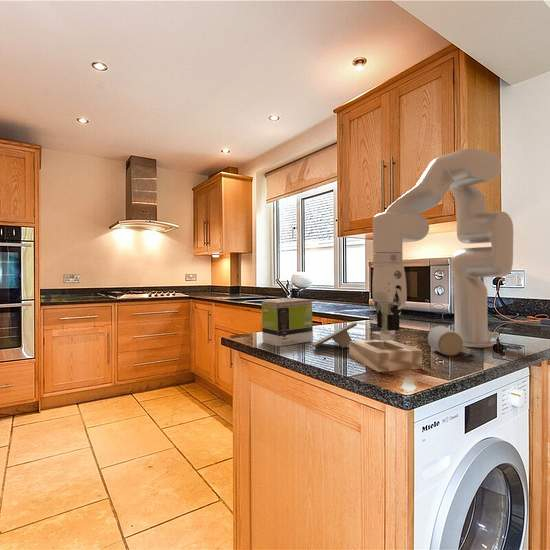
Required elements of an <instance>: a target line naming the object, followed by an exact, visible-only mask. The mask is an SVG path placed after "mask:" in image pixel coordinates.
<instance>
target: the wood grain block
mask: <svg viewBox="0 0 550 550" xmlns="http://www.w3.org/2000/svg"><path fill="white" fill-rule="evenodd" d="M393 302H394V301H393ZM393 307H394V305H392V308H393ZM387 315H389V311H388V304H387V303H384V302H381V328H380V331H371V339H372V340H379V341H386V340H392V341H395V340H396V330H391V331H389V330H388V329H387Z"/></svg>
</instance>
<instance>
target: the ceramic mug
mask: <svg viewBox="0 0 550 550" xmlns="http://www.w3.org/2000/svg"><path fill="white" fill-rule="evenodd" d="M427 342H428V345H429V347H430V348H431V349H433V350H434V351H436V352H438V353H440V354H441V355H444V356H448V357H453V356H456V355H458V354H460V353H463V354H466V355H470V353H471V351H472V350H471V349H470V348H469V347H465V346H463V341H462V338H461V337H460V336H459V335H458V334H457V333H456V332H455V330H454V331H453V330H452V329H451V328H449V327H447V326H444V325H437V326H436V325H435V326H434V327H432V328H431V330H429V333H428V335H427Z"/></svg>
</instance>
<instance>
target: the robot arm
mask: <svg viewBox="0 0 550 550" xmlns="http://www.w3.org/2000/svg"><path fill="white" fill-rule="evenodd" d="M501 170H502V161H501V159H500V157H499V156H498V155H497V154H496V153H494V152H493V151H487V150H482V149H476V148H464V149H463V148H462V149H459V150H455V151H452V152H449V153H446V154H443V155H439V156H437V157H435V158H434V159H433V160H431V162H430V163H429V164H428V166H427V167H426V169H425V171H424V172H423V174H422V175H421V177H420V178H419V180H418V181H417V182H416V184H415V186H414V187H412V188H411V189H409V190H408V191H407V192H405V193H404V194H403V195H402V196H401V197H398V198H397V199H396V200H395V201H394V202H392V203H391V204H390V205H389V206H388V207H387V209H385V211H384V212H381V213H377V214H376V215H374V216H373V218H372V266H373V270H372V272H373V273H372V285H371V287H372V288H371V290H372V293H371V294H372V302H373V303H374V306H375V313H376V326H377V328H379V329H381V302H384V303H387V304H388V311H389V315H387V329H388V330H389V331H391V330H395V331H399V330H400V315H401V314H402V312H401V311H402V310H403V308H404V306H405V305H406V303H407V297H408V295H407V292H408V290H407V277H406V272H405V266H404V262H403V259H404V258H403V254H404V253H403V243H412V242H419V241H421V240H423V239H425V238H426V236H427V235H428V234H429V231H430V223H429V221H428V219H427V218H426V217H425V216H423V215H421V213H425V212H426V211H429V210H430V209H432V208H434V207H436V206H437V205H439V204H440V203H441V202H442V200H443V198H444V196H445V195H446V193H447V191H448V190H449V191H450V193H452V195H453V197H454V199H455V202H456V237H457V240H458V241H459V242H460V243H462V244H468V245H471V244H472V245H473V244H487V243H491V246H481V247H478V246H476V247H466V248H460V249H458V250H456V251H455V252H454V253H453V254H452V256H451V259H450V266H451V271H452V275H453V276H452V277H453V281H454V282H453V285H454V288H453V289H454V332H456V333H457V334H458V335H459V336H460V337H461V338H462V341H463V346H464V347H466V348H477V349H478V348H481V349H482V348H491V347H493V346H494V342H493V341H492V340H491V339H499V338H500V332H499V331H492V332H491V330H489V329H488V324H489V323H488V289H487V287H486V285H485V283H484V281H482V279H481V278H503V277H506V276H508V275H509V274H510V273H511V271H512V269H513V264H514V223H513V220H512V218H511V215H509V213H507V212H505V211H501V210H497V211H495V210H494V211H489V212H487V198H486V196H485V194H484V193H483V192H482V190H481V189H479V187H478V186H476V185H478V184H483V183H488V182H492V181H494V180H496V179H497V178H498V177H499V176H500V173H501ZM393 301H394V302H393ZM392 305H394V307H393V308H392Z"/></svg>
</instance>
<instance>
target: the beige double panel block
mask: <svg viewBox="0 0 550 550" xmlns="http://www.w3.org/2000/svg"><path fill="white" fill-rule="evenodd" d="M357 323H358V322H357V321H355V322H354V321H353V322H350V323H349V324H347V325H345V326H343V327H341V328H340V329H338V330H336V331H335V332H334V331H333V332H332V333H331V334H328V335H326V336H324V337H322V338H320V339H319V340H316V341H315V342H312V345H313V347H315V348H317V347H319V346H320V345H322V344H325V343H326V342H328V341H330V340H333V341H334V342H335V343H337V344H338V346H340V347H341V348H342V349H344V348H346V347H348V346H349V341H353V340H352V338H351V335H350V334H349V330H350V329H353V328H354V327H357V325H358V324H357Z"/></svg>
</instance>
